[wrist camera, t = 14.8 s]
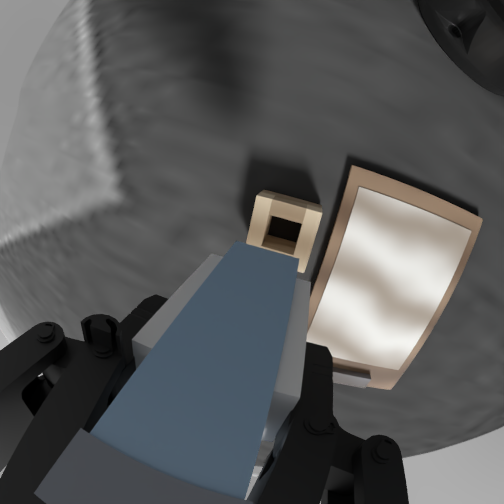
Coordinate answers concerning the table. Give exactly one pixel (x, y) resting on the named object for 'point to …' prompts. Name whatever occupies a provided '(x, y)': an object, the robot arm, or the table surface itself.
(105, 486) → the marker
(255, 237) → the stand
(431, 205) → the clipboard
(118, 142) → the table surface
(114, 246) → the table surface
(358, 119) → the table surface
